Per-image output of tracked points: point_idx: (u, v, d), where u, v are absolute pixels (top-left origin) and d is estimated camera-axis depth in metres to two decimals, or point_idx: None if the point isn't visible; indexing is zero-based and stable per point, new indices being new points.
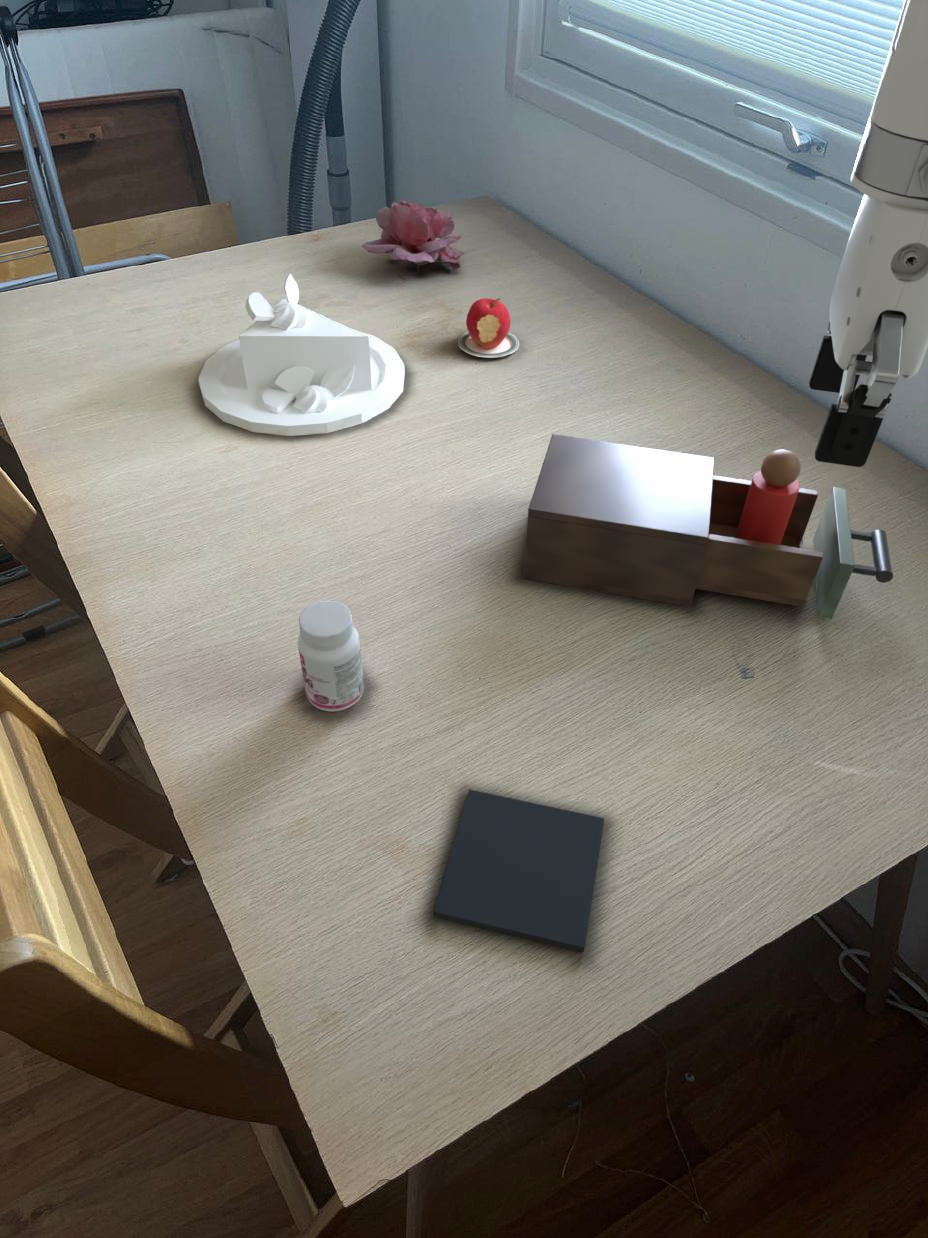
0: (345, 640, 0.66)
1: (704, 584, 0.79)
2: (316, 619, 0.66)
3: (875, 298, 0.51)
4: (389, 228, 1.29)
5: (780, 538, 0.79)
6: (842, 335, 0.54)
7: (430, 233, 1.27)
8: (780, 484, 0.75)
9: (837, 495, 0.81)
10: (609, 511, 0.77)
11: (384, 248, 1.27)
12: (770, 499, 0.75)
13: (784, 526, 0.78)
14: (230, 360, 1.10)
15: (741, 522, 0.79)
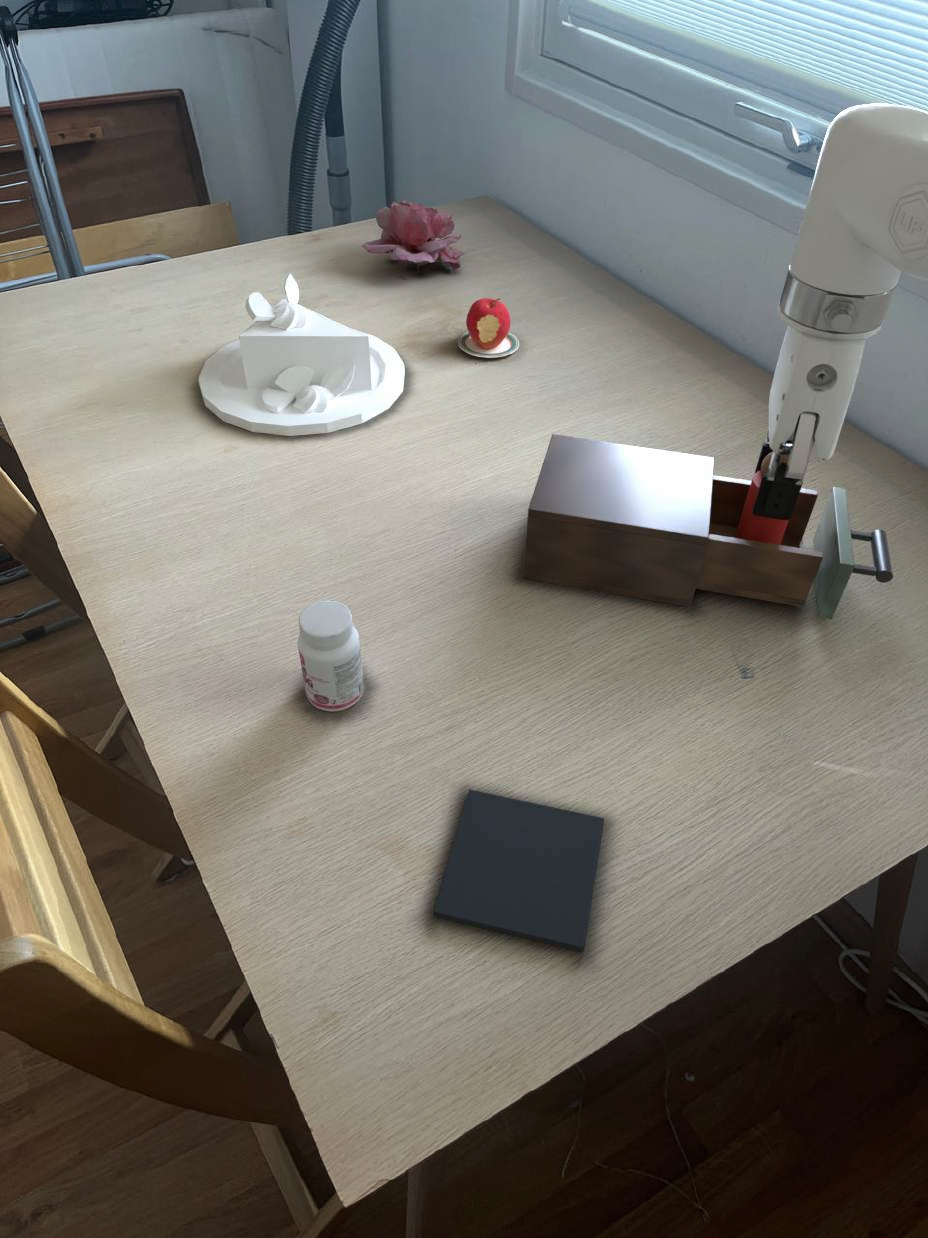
0: (345, 640, 0.66)
1: (704, 584, 0.79)
2: (316, 619, 0.66)
3: (795, 402, 0.66)
4: (389, 228, 1.29)
5: (780, 538, 0.79)
6: (773, 427, 0.69)
7: (430, 233, 1.27)
8: None
9: (837, 495, 0.81)
10: (609, 511, 0.77)
11: (384, 248, 1.27)
12: None
13: (784, 526, 0.78)
14: (230, 360, 1.10)
15: (741, 522, 0.79)
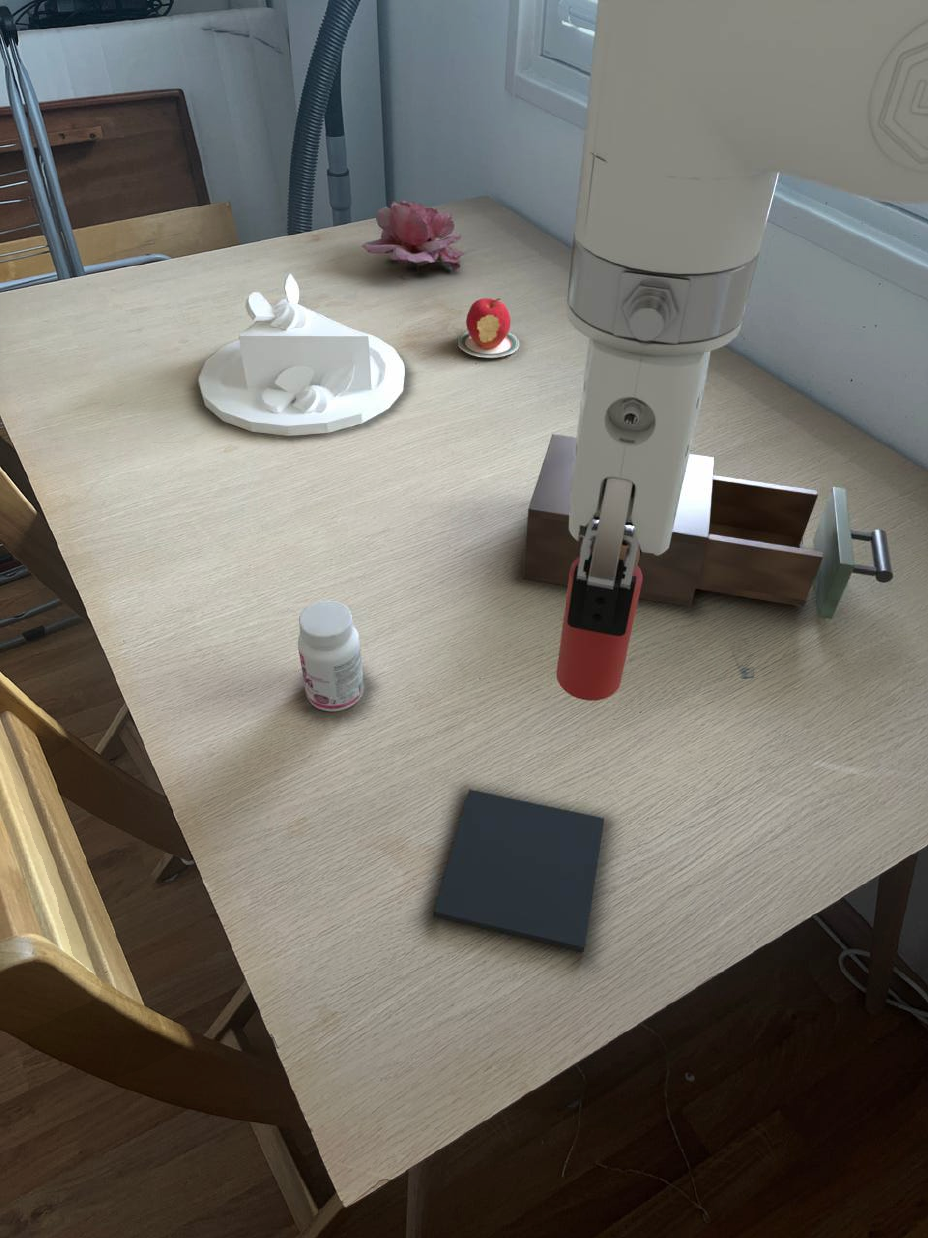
0: (345, 640, 0.66)
1: (704, 584, 0.79)
2: (316, 619, 0.66)
3: (592, 461, 0.38)
4: (389, 228, 1.29)
5: (620, 656, 0.51)
6: None
7: (430, 233, 1.27)
8: None
9: (837, 495, 0.81)
10: None
11: (384, 248, 1.27)
12: None
13: (623, 640, 0.50)
14: (230, 360, 1.10)
15: (562, 630, 0.52)
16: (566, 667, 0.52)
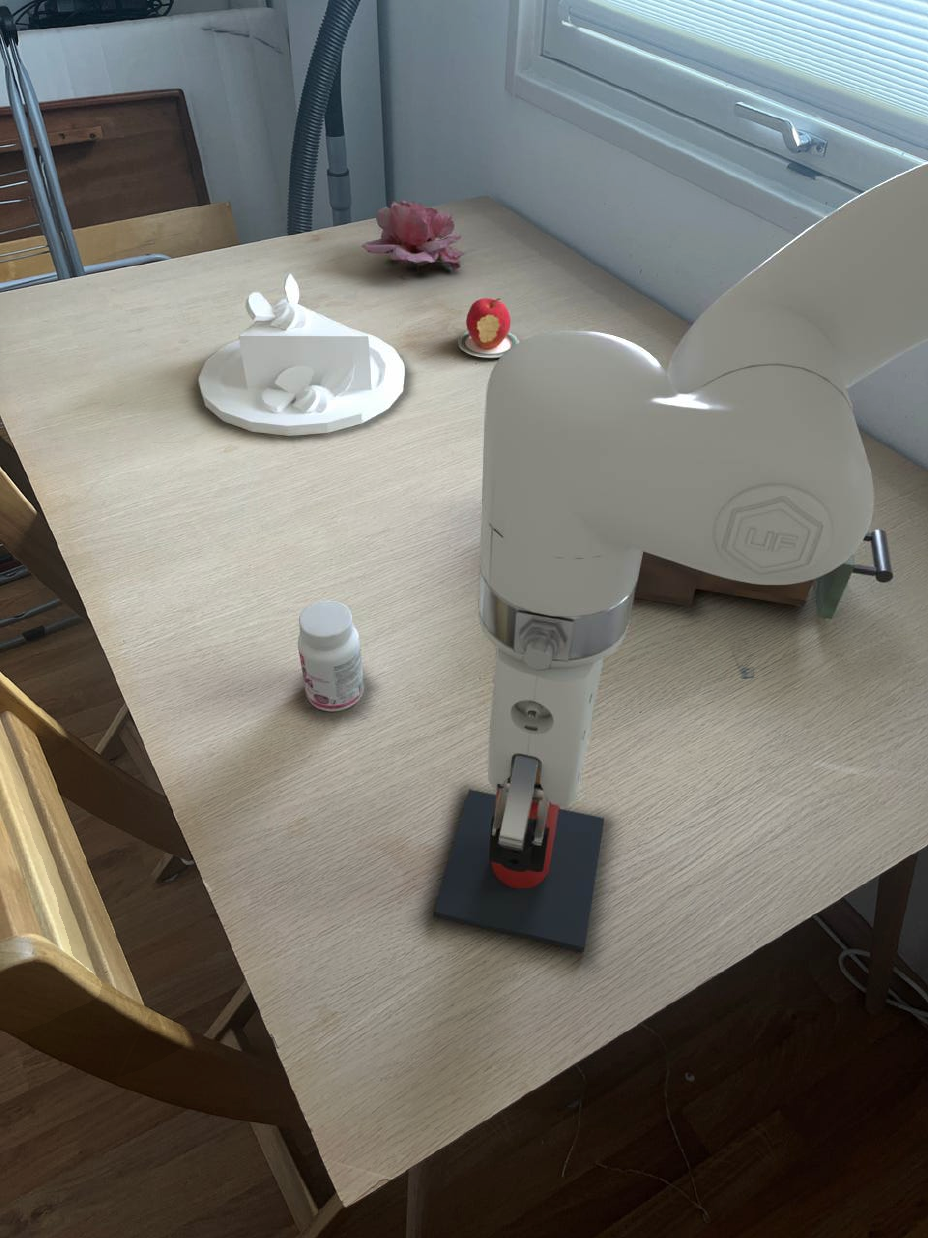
0: (345, 640, 0.66)
1: (704, 584, 0.79)
2: (316, 619, 0.66)
3: (503, 741, 0.44)
4: (389, 228, 1.29)
5: None
6: None
7: (430, 233, 1.27)
8: None
9: None
10: None
11: (384, 248, 1.27)
12: None
13: None
14: (230, 360, 1.10)
15: None
16: None
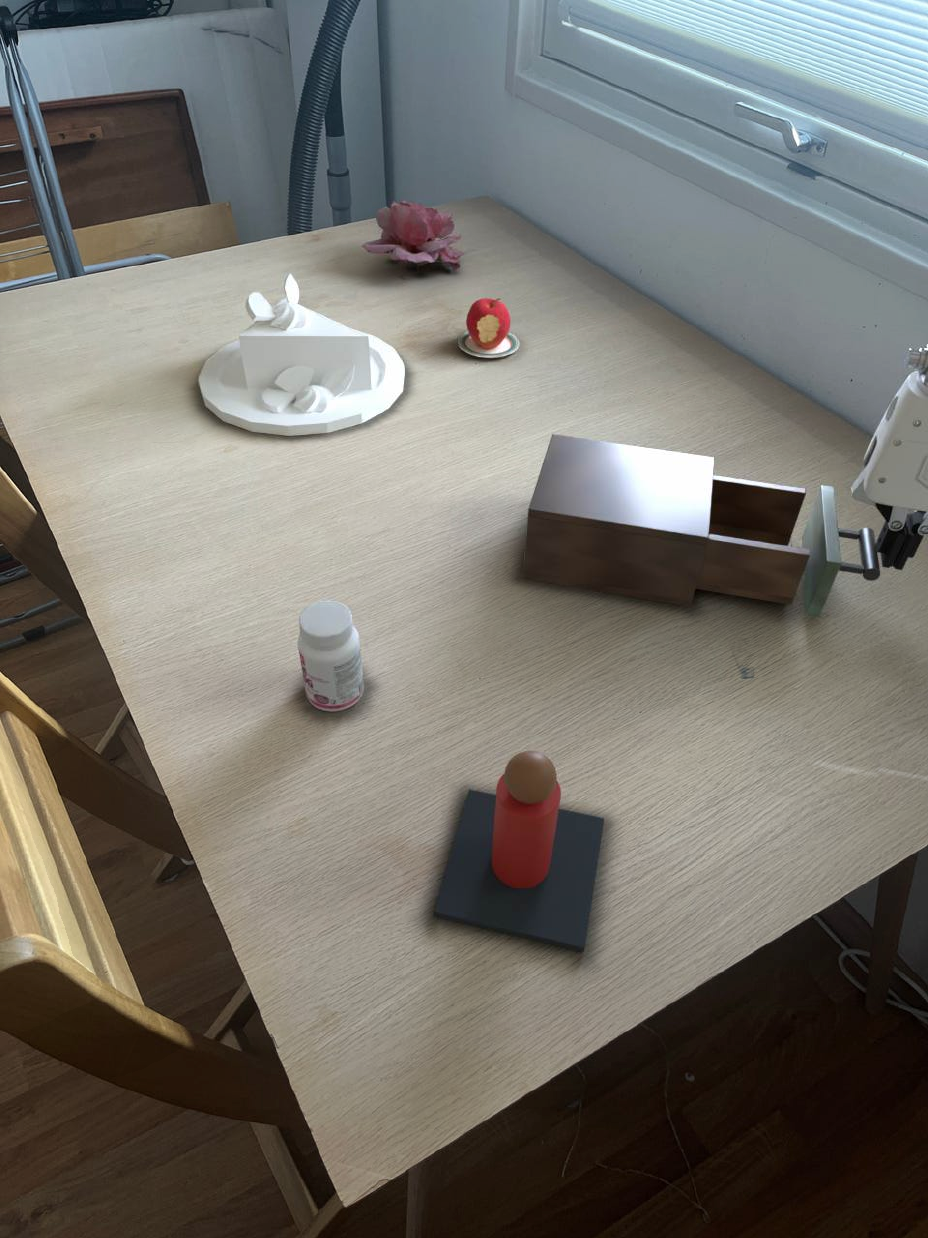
0: (345, 640, 0.66)
1: None
2: (316, 619, 0.66)
3: (879, 424, 0.72)
4: (389, 228, 1.29)
5: (545, 855, 0.57)
6: None
7: (430, 233, 1.27)
8: (526, 803, 0.53)
9: (825, 493, 0.81)
10: (609, 511, 0.77)
11: (384, 248, 1.27)
12: (516, 821, 0.53)
13: (546, 844, 0.56)
14: (230, 360, 1.10)
15: None
16: (498, 861, 0.58)
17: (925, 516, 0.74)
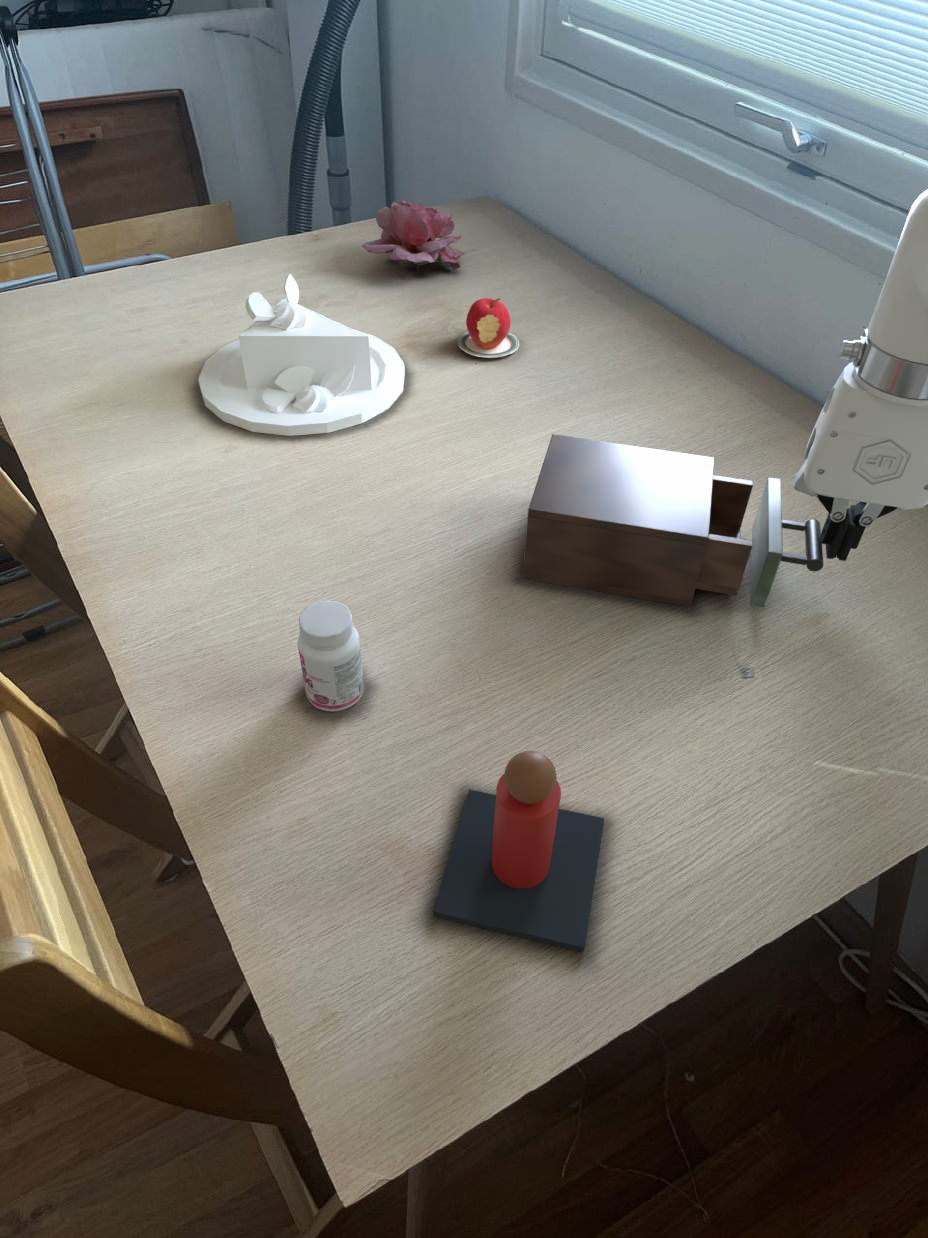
0: (345, 640, 0.66)
1: None
2: (316, 619, 0.66)
3: (819, 416, 0.73)
4: (389, 228, 1.29)
5: (545, 855, 0.57)
6: None
7: (430, 233, 1.27)
8: (526, 803, 0.53)
9: (771, 485, 0.81)
10: (609, 511, 0.77)
11: (384, 248, 1.27)
12: (516, 821, 0.53)
13: (546, 844, 0.56)
14: (230, 360, 1.10)
15: None
16: (498, 861, 0.58)
17: (866, 507, 0.75)
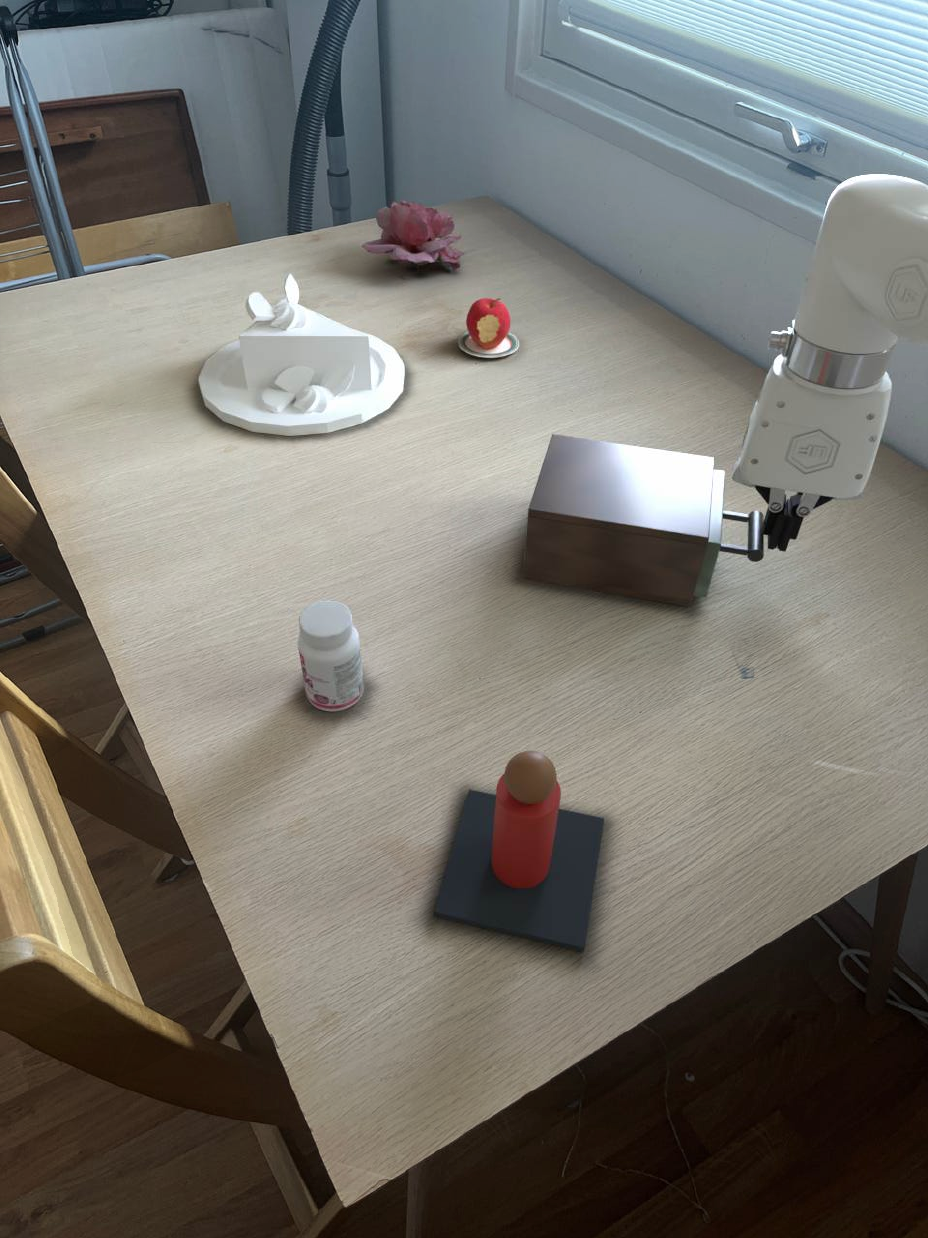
0: (345, 640, 0.66)
1: None
2: (316, 619, 0.66)
3: None
4: (389, 228, 1.29)
5: (545, 855, 0.57)
6: None
7: (430, 233, 1.27)
8: (526, 803, 0.53)
9: (715, 477, 0.82)
10: (609, 511, 0.77)
11: (384, 248, 1.27)
12: (516, 821, 0.53)
13: (546, 844, 0.56)
14: (230, 360, 1.10)
15: None
16: (498, 861, 0.58)
17: (802, 497, 0.75)
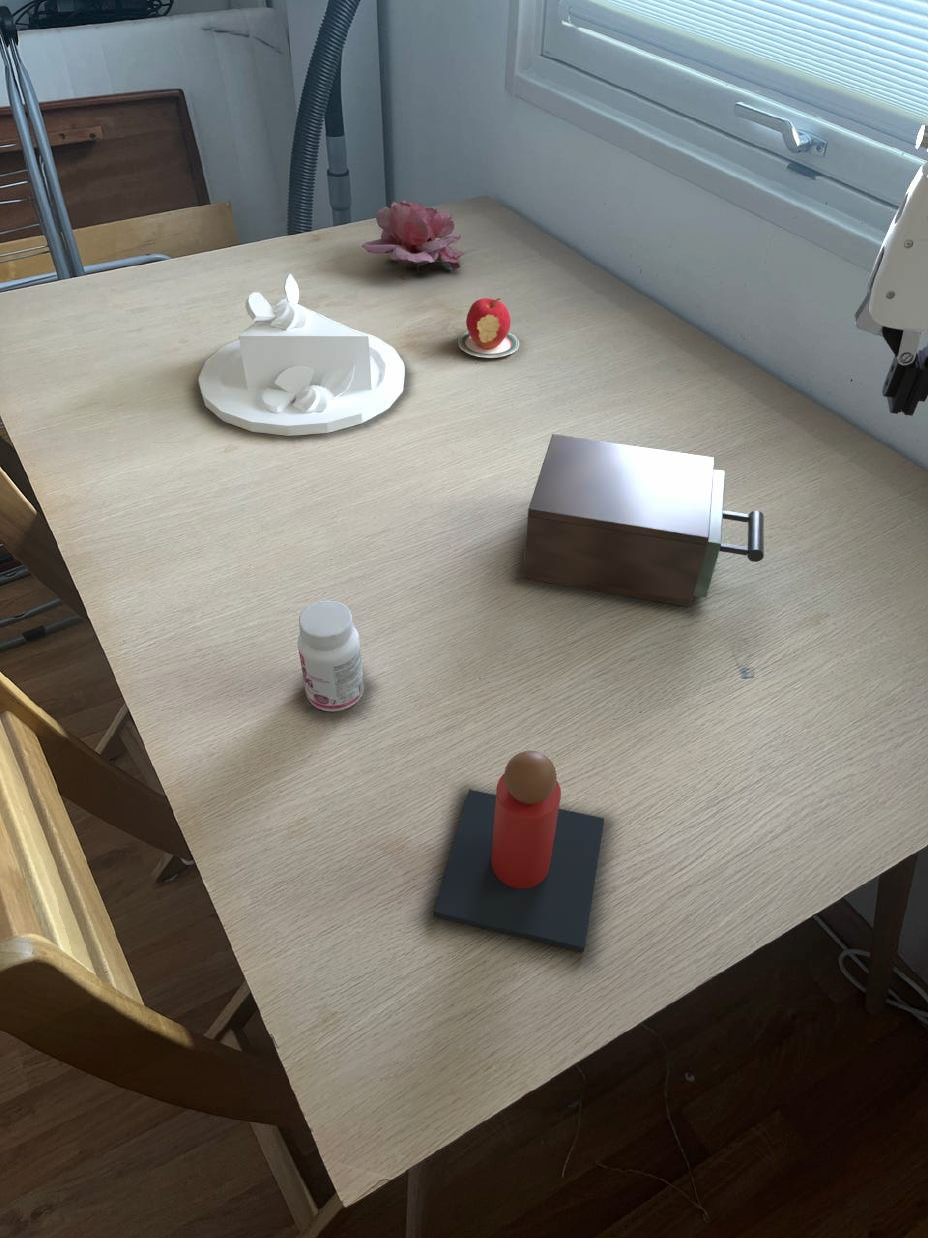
0: (345, 640, 0.66)
1: None
2: (316, 619, 0.66)
3: (887, 233, 0.62)
4: (389, 228, 1.29)
5: (545, 855, 0.57)
6: None
7: (430, 233, 1.27)
8: (526, 803, 0.53)
9: (715, 477, 0.82)
10: (609, 511, 0.77)
11: (384, 248, 1.27)
12: (516, 821, 0.53)
13: (546, 844, 0.56)
14: (230, 360, 1.10)
15: None
16: (498, 861, 0.58)
17: None
